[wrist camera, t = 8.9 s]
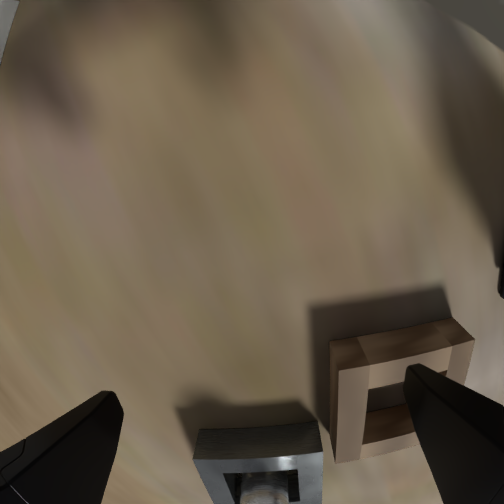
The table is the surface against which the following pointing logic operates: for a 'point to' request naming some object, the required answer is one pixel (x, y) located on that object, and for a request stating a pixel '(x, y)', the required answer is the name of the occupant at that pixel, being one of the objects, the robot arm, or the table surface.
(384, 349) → the socket block
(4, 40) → the hinge
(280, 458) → the block
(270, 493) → the metal cylinder peg
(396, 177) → the table surface
